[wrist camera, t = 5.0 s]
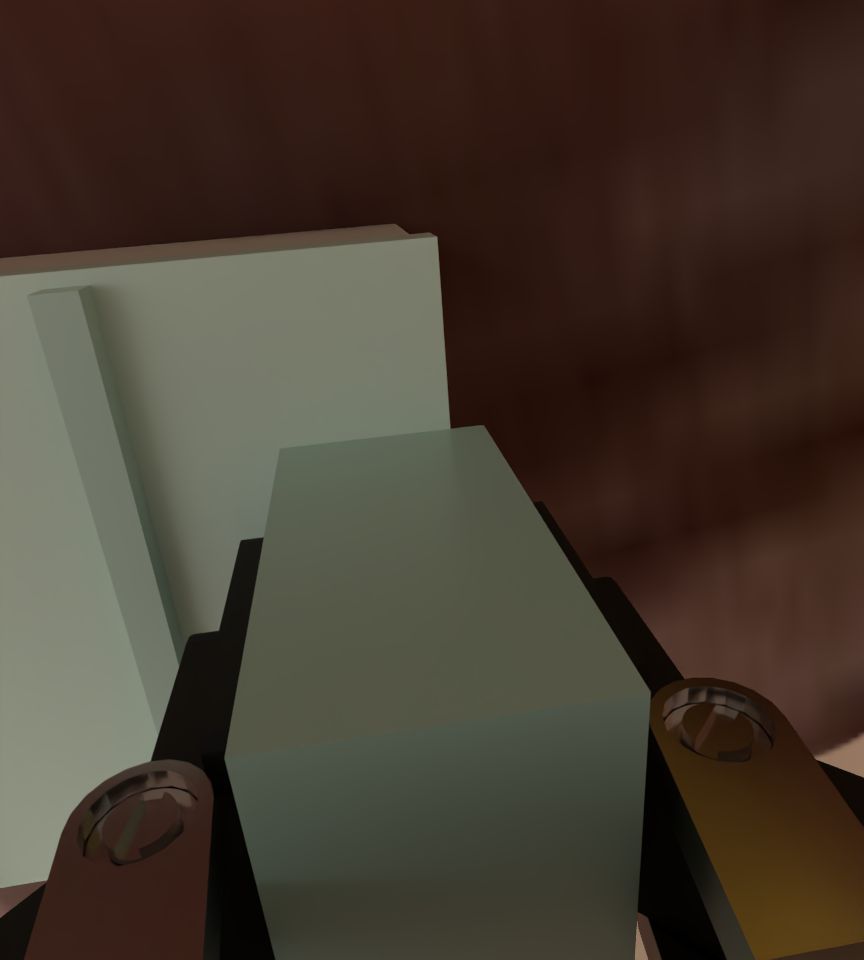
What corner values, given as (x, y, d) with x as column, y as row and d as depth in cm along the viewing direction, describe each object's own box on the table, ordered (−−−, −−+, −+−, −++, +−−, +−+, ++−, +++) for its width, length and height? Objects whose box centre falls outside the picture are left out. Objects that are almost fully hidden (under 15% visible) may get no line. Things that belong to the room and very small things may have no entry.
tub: (-193, 275, 17) (-518, 332, 10) (395, 223, 18) (427, 247, 12) (-48, 626, 21) (-220, 825, 14) (426, 566, 22) (462, 725, 16)
